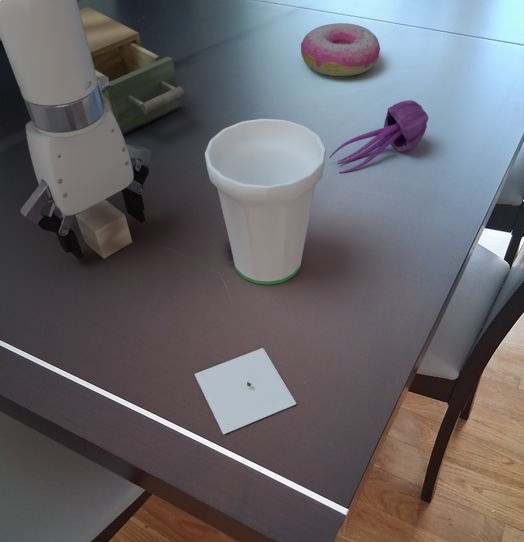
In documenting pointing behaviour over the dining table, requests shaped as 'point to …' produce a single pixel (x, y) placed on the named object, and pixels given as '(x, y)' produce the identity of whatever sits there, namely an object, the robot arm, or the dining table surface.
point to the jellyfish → (392, 132)
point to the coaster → (244, 390)
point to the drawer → (137, 84)
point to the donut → (340, 49)
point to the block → (104, 228)
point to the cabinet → (105, 32)
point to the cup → (266, 193)
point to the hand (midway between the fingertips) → (106, 234)
